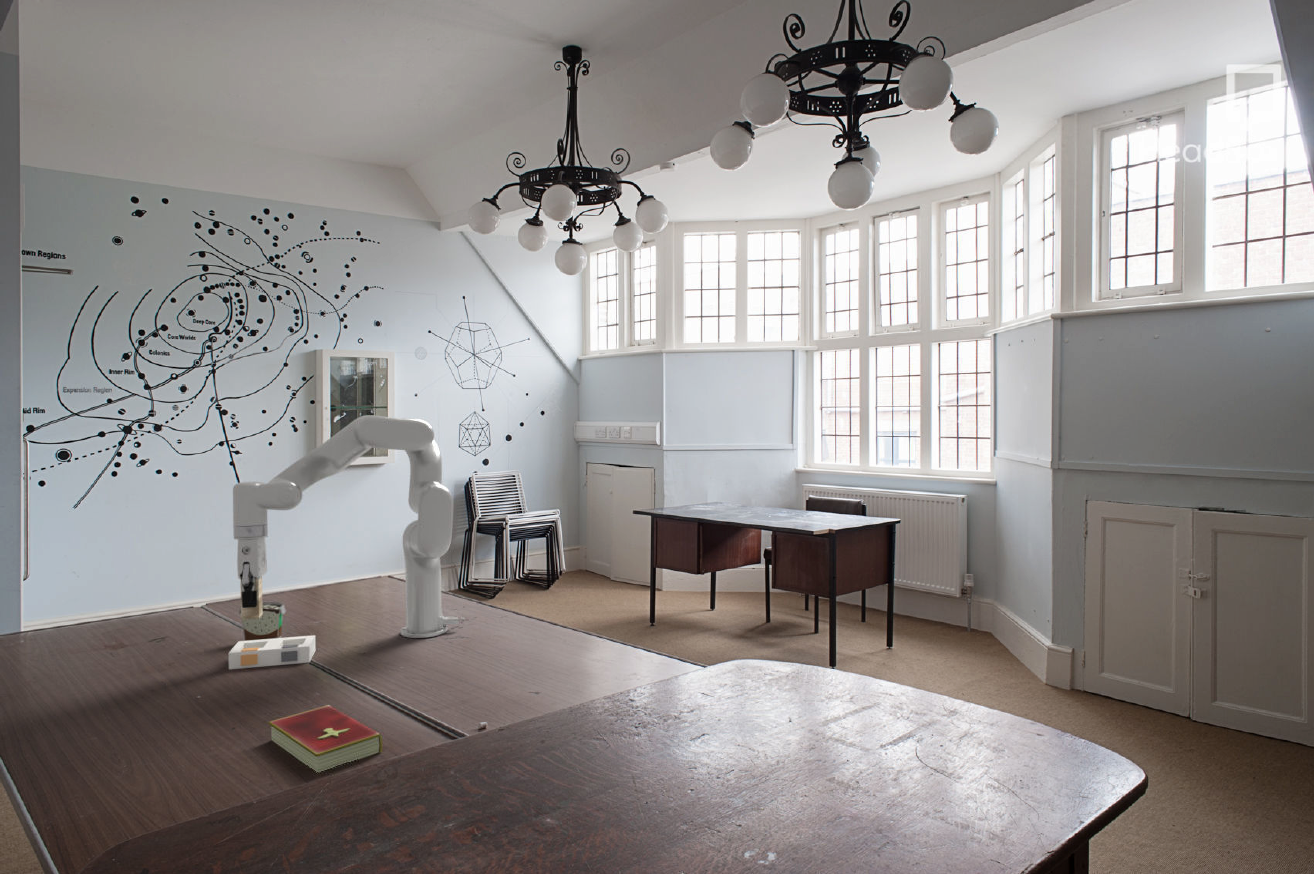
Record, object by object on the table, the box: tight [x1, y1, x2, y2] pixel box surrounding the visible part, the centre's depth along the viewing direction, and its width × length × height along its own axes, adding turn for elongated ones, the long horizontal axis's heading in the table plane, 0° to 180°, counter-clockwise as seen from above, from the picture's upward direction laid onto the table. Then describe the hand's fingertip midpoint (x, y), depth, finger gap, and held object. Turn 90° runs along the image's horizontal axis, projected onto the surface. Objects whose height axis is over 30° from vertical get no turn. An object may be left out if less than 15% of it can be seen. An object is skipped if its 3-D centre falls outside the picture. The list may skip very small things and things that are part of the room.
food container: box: [238, 601, 287, 641], centre depth 212 cm, size 12×6×10 cm, turn 84°
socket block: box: [227, 635, 316, 670], centre depth 195 cm, size 18×10×4 cm, turn 106°
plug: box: [240, 576, 263, 621], centre depth 194 cm, size 4×4×10 cm
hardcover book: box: [267, 704, 383, 773], centre depth 145 cm, size 12×21×4 cm, turn 47°
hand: (251, 604), depth 194 cm, fingers closed on plug, 4 cm apart
